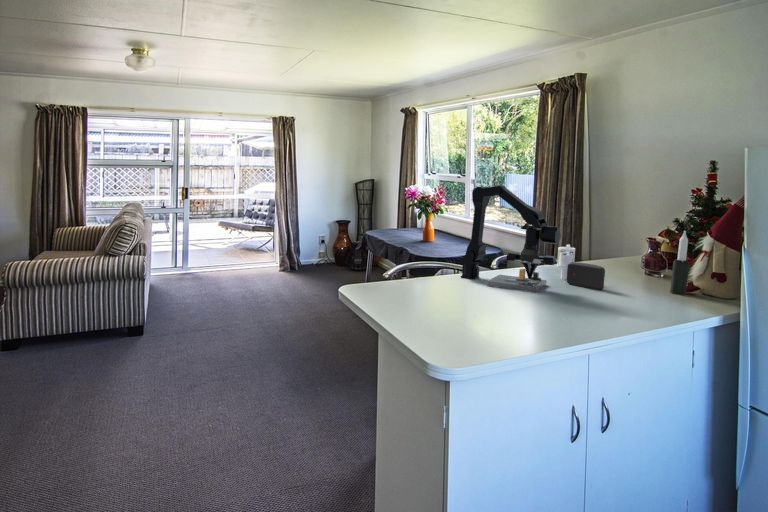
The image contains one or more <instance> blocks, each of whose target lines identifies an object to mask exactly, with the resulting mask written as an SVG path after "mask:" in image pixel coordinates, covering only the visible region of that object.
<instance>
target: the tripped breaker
mask: <svg viewBox="0 0 768 512" xmlns="http://www.w3.org/2000/svg"><path fill="white" fill-rule="evenodd" d="M518 277H519V278H517V279H516V280H517V281H525V282H527V281H528V279H525V278H526V269H525V268H519V271H518Z"/></svg>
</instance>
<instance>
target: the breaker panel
mask: <svg viewBox="0 0 768 512" xmlns="http://www.w3.org/2000/svg"><path fill="white" fill-rule="evenodd" d="M539 276H540V273H539V272H536V271H534V273H533V275H532V278H531V279H528V277H525V279H528V281H527V282H525V281H517V280H516V279H517V278H519V276H515V275H514V276H513V275H506V274H498V275H496V276H494V277H492V278H490V279H488V280H486V287H492V288H499V289H508V290H516V291H521V292H522V291H523V292H531V293H538V292H539V291H540V290H541V289H542V288H544V287H545V286H547V280H546V279H542V278H541V277H539Z"/></svg>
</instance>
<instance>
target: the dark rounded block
mask: <svg viewBox="0 0 768 512" xmlns="http://www.w3.org/2000/svg"><path fill="white" fill-rule="evenodd" d="M605 276H606V269H605V268H604V267H603V266H601V265H597V264H594V263H593V264H592V263H584V262H577V261H576V262H575V261H574V262H573V261H572V262H570V263H569V264H568V267H567V279H566V280H565V281H566V283H567V284H568V285H572V286H577V287H581V288H582V287H583V288H587V289H592V290H596V291H601V290H603V289H604V287H605V286H604V285H605Z"/></svg>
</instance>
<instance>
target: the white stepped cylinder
mask: <svg viewBox="0 0 768 512" xmlns="http://www.w3.org/2000/svg"><path fill="white" fill-rule="evenodd" d="M575 257H576V247H571V244H566V245H565V246H559V247H558V248H557V257H556V267H557V268H560V269H561V270H560V280H563V281H566V279H567V267H568V264H569V263H570V262H575Z"/></svg>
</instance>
